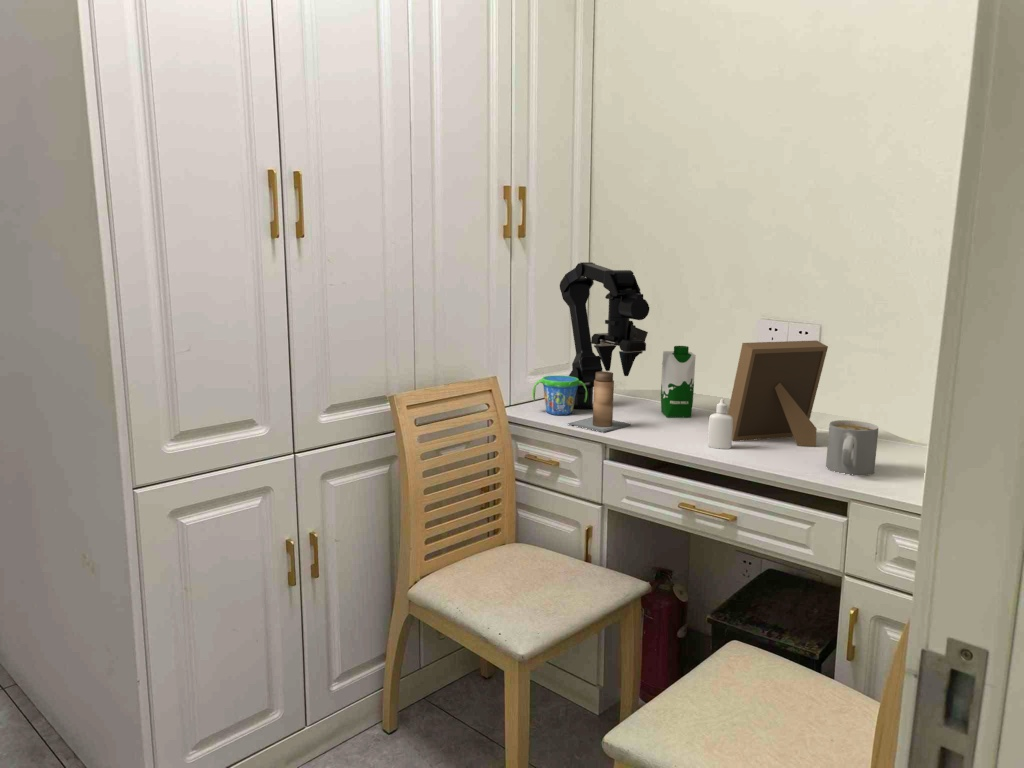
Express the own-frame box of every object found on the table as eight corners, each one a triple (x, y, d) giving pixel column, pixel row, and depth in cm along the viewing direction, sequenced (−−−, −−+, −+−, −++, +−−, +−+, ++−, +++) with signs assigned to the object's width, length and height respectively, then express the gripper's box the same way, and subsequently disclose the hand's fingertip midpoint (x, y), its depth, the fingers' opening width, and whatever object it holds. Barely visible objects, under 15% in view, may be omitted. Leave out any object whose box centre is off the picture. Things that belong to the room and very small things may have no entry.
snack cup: (586, 410, 236) (588, 375, 235) (586, 418, 226) (587, 382, 224) (533, 408, 238) (534, 374, 236) (530, 416, 228) (531, 380, 226)
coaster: (567, 425, 217) (567, 422, 217) (594, 418, 226) (594, 416, 226) (603, 432, 209) (603, 430, 209) (630, 425, 218) (630, 423, 218)
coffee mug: (835, 460, 186) (839, 418, 184) (880, 469, 180) (884, 425, 178) (812, 472, 176) (816, 427, 174) (859, 482, 170) (864, 435, 168)
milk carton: (664, 418, 227) (667, 347, 224) (657, 411, 236) (660, 343, 232) (695, 418, 227) (699, 347, 224) (687, 411, 236) (690, 343, 233)
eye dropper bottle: (714, 443, 200) (717, 395, 198) (734, 448, 196) (737, 399, 194) (704, 446, 197) (707, 398, 195) (724, 451, 193) (727, 401, 191)
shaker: (595, 421, 219) (597, 370, 216) (614, 423, 217) (616, 372, 214) (590, 425, 214) (591, 373, 211) (609, 428, 212) (611, 375, 209)
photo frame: (723, 437, 206) (729, 340, 202) (794, 431, 213) (802, 337, 209) (758, 452, 193) (765, 347, 188) (833, 445, 199) (842, 345, 195)
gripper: (663, 319, 215) (661, 376, 218) (624, 312, 231) (622, 366, 234) (628, 320, 210) (626, 379, 213) (591, 313, 226) (589, 369, 229)
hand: (616, 373), depth 222 cm, fingers open, 9 cm apart
